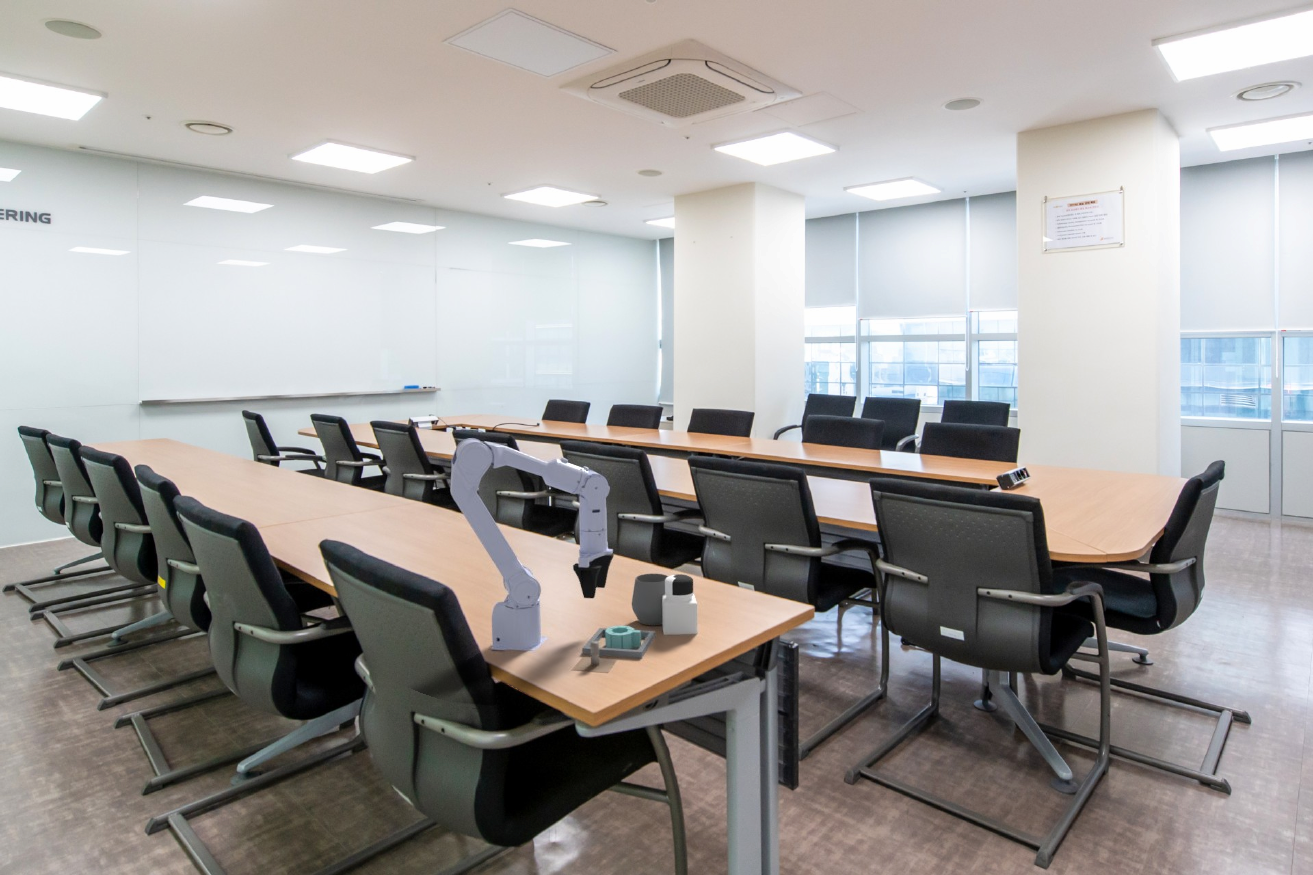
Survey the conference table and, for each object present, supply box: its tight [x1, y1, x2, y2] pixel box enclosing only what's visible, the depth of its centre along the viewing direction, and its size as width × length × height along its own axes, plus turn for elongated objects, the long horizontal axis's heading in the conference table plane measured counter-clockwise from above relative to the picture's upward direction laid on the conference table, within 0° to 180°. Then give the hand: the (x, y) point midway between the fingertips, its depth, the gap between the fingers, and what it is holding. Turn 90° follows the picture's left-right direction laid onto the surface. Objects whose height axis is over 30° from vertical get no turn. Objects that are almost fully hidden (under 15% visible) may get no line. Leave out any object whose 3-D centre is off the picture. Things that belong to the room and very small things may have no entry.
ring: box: [604, 625, 642, 650], centre depth 154 cm, size 7×6×3 cm
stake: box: [571, 641, 618, 674], centre depth 144 cm, size 7×7×5 cm
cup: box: [631, 572, 670, 626], centre depth 170 cm, size 10×9×10 cm
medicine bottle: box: [661, 574, 699, 636], centre depth 163 cm, size 7×7×12 cm
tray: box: [581, 627, 656, 659], centre depth 154 cm, size 12×12×2 cm
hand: (594, 592), depth 161 cm, fingers open, 7 cm apart
